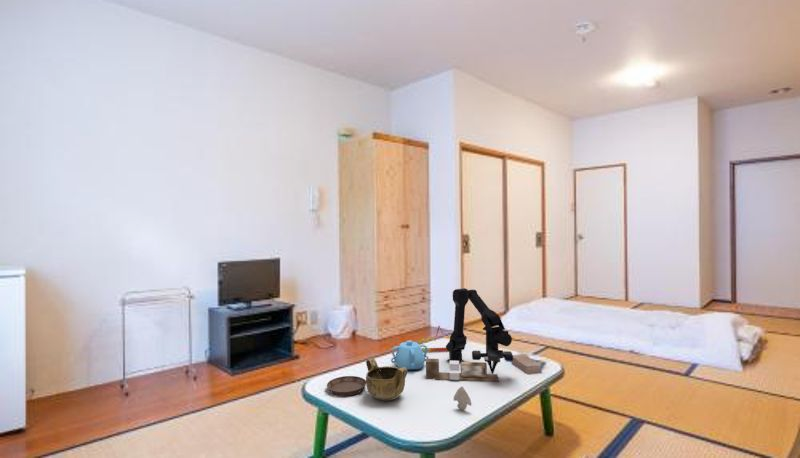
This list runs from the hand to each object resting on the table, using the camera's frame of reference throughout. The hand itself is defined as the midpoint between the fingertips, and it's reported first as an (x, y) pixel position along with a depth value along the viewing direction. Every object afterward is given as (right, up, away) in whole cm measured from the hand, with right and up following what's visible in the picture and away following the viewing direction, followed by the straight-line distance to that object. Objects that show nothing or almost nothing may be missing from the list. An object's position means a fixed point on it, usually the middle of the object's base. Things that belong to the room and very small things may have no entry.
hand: (492, 373), depth 202 cm
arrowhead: (-19, -4, -33) cm, 38 cm away
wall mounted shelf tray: (-9, -1, +1) cm, 9 cm away
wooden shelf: (-14, -3, +2) cm, 15 cm away
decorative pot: (-39, -3, +18) cm, 43 cm away
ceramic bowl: (-50, -4, -20) cm, 54 cm away
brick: (+20, -2, +14) cm, 24 cm away
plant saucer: (-68, -4, -10) cm, 69 cm away
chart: (-24, -2, +43) cm, 49 cm away
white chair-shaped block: (-18, -2, +2) cm, 18 cm away
